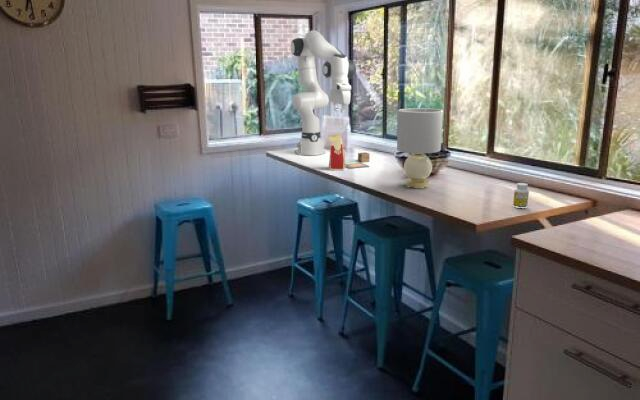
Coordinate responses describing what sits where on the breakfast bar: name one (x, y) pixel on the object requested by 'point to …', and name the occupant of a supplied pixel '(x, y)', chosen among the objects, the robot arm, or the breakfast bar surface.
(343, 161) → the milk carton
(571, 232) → the breakfast bar surface
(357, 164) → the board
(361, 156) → the brown wooden cube
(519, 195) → the supplement bottle
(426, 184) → the lamp
